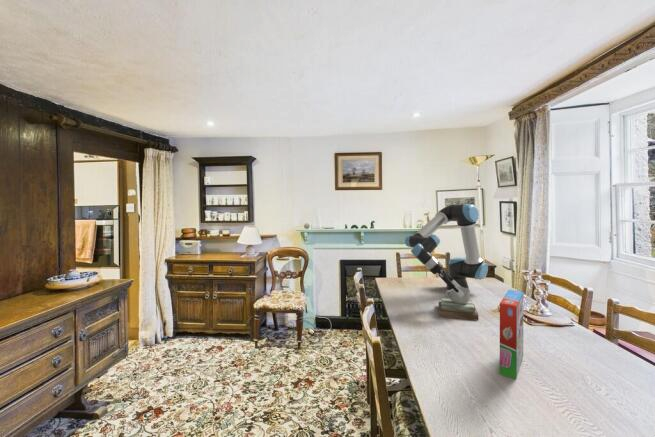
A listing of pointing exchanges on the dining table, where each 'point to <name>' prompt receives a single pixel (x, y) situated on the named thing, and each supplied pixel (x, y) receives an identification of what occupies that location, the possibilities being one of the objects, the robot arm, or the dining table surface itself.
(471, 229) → the robot arm
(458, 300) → the teacup
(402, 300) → the dining table surface
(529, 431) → the dining table surface
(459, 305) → the block stand
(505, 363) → the game box
